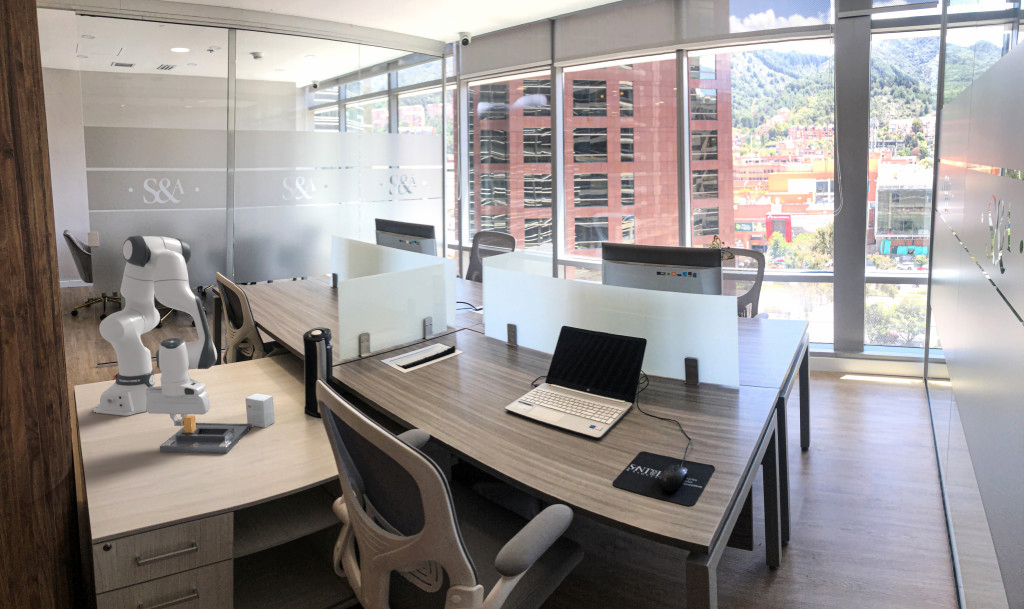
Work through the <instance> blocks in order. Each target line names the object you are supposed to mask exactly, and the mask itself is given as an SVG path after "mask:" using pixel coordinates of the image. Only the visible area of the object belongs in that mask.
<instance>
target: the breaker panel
mask: <svg viewBox="0 0 1024 609" xmlns="http://www.w3.org/2000/svg"><path fill="white" fill-rule="evenodd" d="M196 428H199V433H198V434H182V432H183V431H184V426H182V427H181V428H180V429H179V430H178V431H176V432H175V433H174V434H173V435H172V436H171V437H169V438H168V439H167V440H165V442H163V443H162V444H161V445H159V452H160V453H193V454H194V453H195V454H198V453H199V454H228V453H229V452H230V451H231V450H232V449H233V448H234V447H235V446H236V445H237V444H238V443H239V442H240V441H241V440H242V439H243V437H244V436H246V434H248V432H249V430H248V426H217V425H196ZM239 440H240V441H239Z"/></svg>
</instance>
